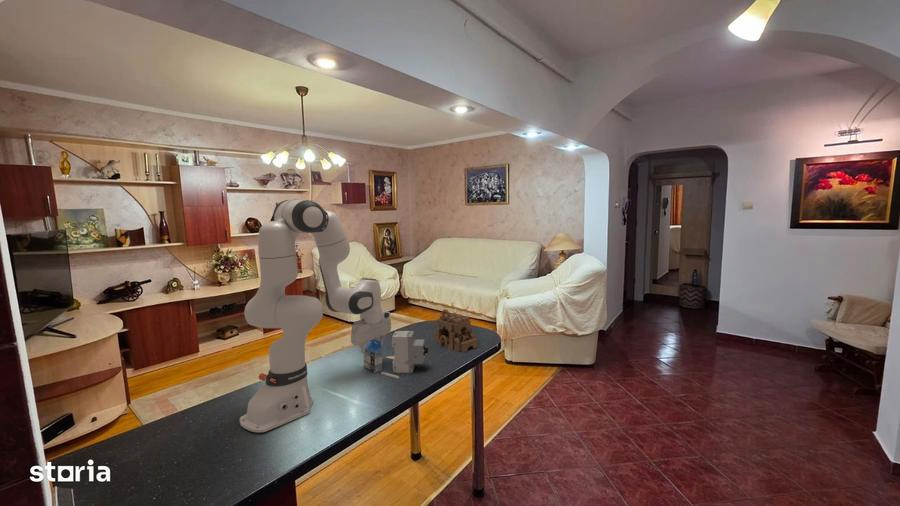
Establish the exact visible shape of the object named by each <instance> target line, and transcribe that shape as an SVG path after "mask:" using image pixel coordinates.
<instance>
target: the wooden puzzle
mask: <svg viewBox="0 0 900 506" xmlns="http://www.w3.org/2000/svg"><path fill="white" fill-rule="evenodd" d="M471 324H472V322H471V319H470V317H469V316H468V315H465V316H463V314H462V313H459V314H457V313H456V312H451V313H450V311H449V310H448V309H443V310H442V312H441V315H439V318H437V327H436V328H435V332H434V333H433V334H432V335H433V340H434V341H435V342H436V343H437V344H439V346H440V347H443V346H444V348H445V349H449V350H451V351H455V352H456V353H459V352H462V353H467V352H468V349H469V348H471V347H472V348H471V349H476V348H478V345H479V344H478V342H479V341H478V338H476V337H475V335H474V333H473V331H472V329H473V328H472V327H471V326H472V325H471Z"/></svg>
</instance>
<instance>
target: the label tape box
mask: <svg viewBox="0 0 900 506" xmlns="http://www.w3.org/2000/svg"><path fill="white" fill-rule="evenodd" d="M364 347H365V348H367V352H366V353H363V368H365V369H367V370H368V371H370V372H372V373H375V374H376V373H379V372H383V349H382V348H383V345H381V342H380V341H379V339H376V338H375V339H372V340H370V343H368V345H365V346H364Z"/></svg>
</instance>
